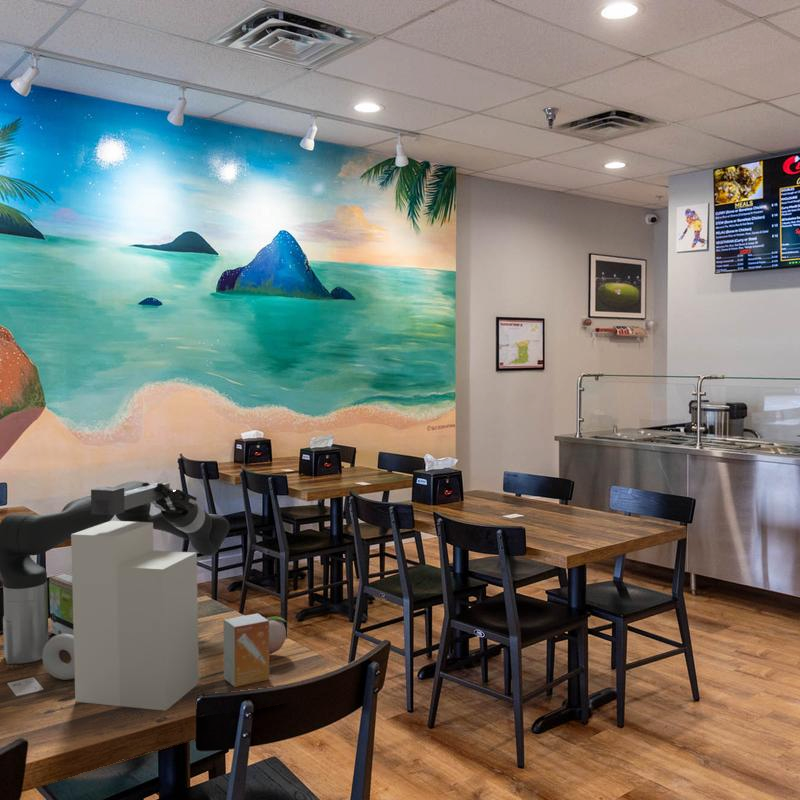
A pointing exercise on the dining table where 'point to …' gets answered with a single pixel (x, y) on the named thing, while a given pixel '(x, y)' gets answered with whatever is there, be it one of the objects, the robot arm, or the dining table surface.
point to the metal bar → (122, 498)
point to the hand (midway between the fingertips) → (150, 486)
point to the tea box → (61, 604)
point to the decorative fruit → (276, 633)
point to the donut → (52, 656)
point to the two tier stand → (133, 618)
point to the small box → (246, 649)
